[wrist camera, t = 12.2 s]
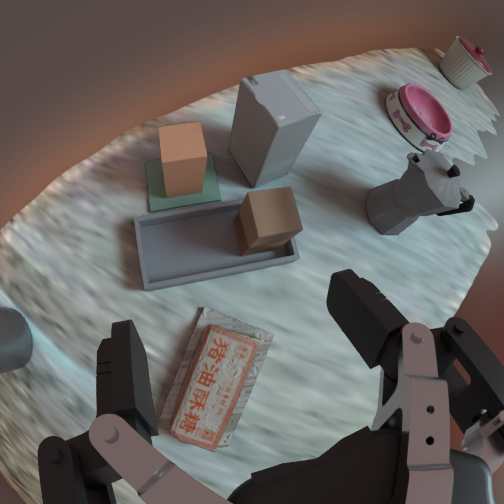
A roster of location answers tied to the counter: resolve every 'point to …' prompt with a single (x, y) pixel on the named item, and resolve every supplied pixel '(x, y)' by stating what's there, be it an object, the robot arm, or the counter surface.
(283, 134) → the skincare box
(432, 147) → the dog bowl
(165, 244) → the grey bin
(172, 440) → the counter surface
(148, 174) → the green mat
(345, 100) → the counter surface
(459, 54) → the canister
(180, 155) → the terracotta carton
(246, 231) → the walnut block
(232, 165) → the counter surface
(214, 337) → the packaged product
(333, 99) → the counter surface
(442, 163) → the coffeepot
